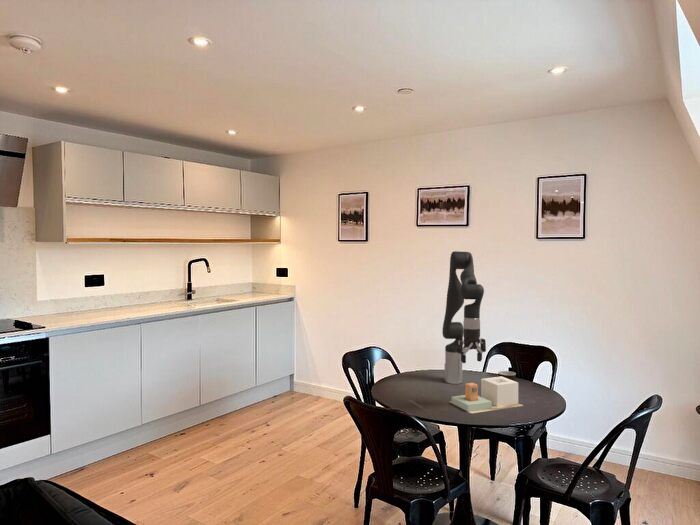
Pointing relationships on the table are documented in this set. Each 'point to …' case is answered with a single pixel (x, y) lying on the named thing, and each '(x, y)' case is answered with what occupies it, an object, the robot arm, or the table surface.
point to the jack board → (494, 408)
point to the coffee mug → (507, 375)
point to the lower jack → (471, 403)
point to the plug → (471, 392)
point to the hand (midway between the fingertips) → (471, 362)
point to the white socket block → (499, 391)
